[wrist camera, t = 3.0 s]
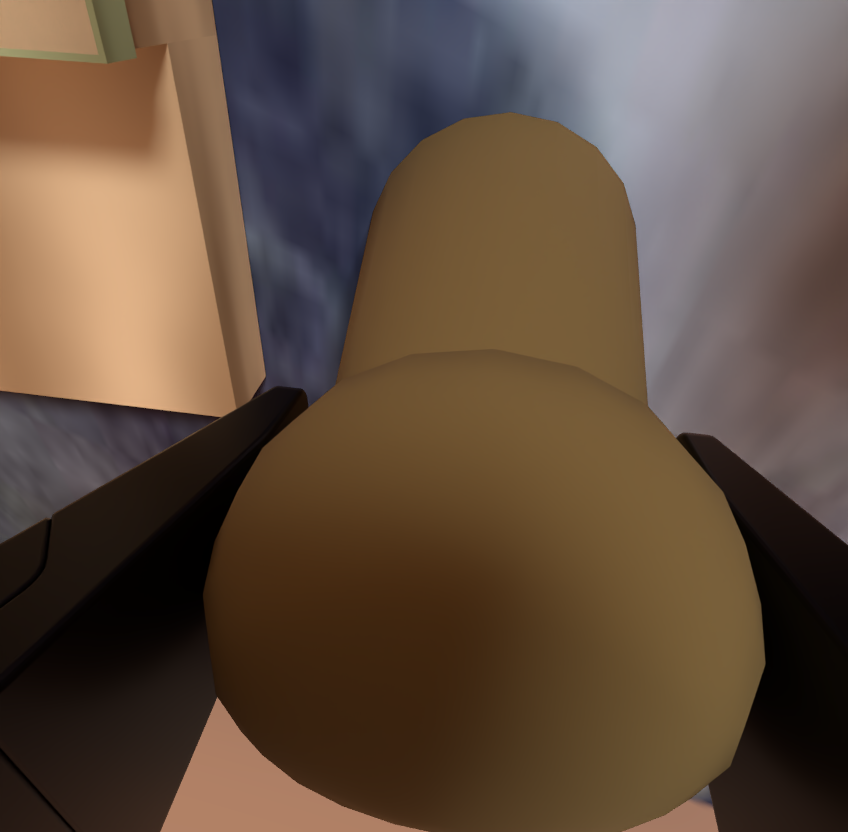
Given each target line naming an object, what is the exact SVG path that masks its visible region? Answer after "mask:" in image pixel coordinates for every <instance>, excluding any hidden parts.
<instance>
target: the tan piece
mask: <svg viewBox="0 0 848 832" xmlns="http://www.w3.org/2000/svg"><path fill="white" fill-rule="evenodd" d="M265 377H266V374H265V367H264V360H263V353H262V346H261V339H260V332H259V325H258V318H257V311H256V304H255V297H254V290H253V283H252V276H251V270H250V263H249V256H248V249H247V242H246V235H245V228H244V221H243V214H242V207H241V200H240V193H239V186H238V179H237V172H236V165H235V158H234V152H233V145H232V138H231V131H230V124H229V117H228V110H227V103H226V96H225V89H224V82H223V75H222V68H221V61H220V54H219V47H218V40H217V34H216V27H215V20H214V13H213V6H212V0H0V391H9V392H17V393H25V394H34V395H42V396H50V397H59V398H67V399H75V400H84V401H92V402H100V403H109V404H117V405H125V406H134V407H142V408H150V409H159V410H167V411H175V412H184V413H192V414H200V415H209V416H217V417H223V416H224V415H226V414H228V413H230V412H231V411H233V410H235V409H237V408H238V407H240V406H242V405H244V404H245V403H247V402H249V401H250V400H251V399H252V397H253V395H254V394H255V392H256V391H257V389H258V388H259V386H260V385H261V383H262V381H263V380H264V378H265Z"/></svg>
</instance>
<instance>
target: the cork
mask: <svg viewBox="0 0 848 832" xmlns="http://www.w3.org/2000/svg"><path fill="white" fill-rule="evenodd" d="M203 601H204V610H205V618H206V627H207V635H208V643H209V650H210V657H211V664H212V672H213V679H214V686H215V693H216V695H217V697H218V698H219V700H220V701H221V703H222V704H223V705H224V707H225V708H226V710H227V711H228V713H229V714H230V716H231V717H232V719H233V720H234V722H235V723H236V725H237V726H238V728H239V729H240V730H241V732H242V733H243V734H244V735H245V736H246V737H247V738H248V740H249V741H250V742H251V743H252V744H253V745H254V746H255V747H256V748H257V749H258V751H259V752H260V753H261V754H262V755H263V756H264V757H266V758H267V759H268V760H269V761H271V762H272V763H273V764H274V765H276V766H277V767H278V768H280V769H281V770H282V771H283V772H285V773H286V774H287V775H288V776H290V777H291V778H292V779H293V780H295V781H296V782H297V783H299V784H301V785H303V786H305V787H307V788H309V789H310V790H312V791H314V792H316V793H318V794H320V795H322V796H324V797H326V798H328V799H330V800H332V801H334V802H336V803H338V804H339V805H341V806H344V807H347V808H349V809H352V810H355V811H358V812H361V813H364V814H367V815H370V816H373V817H375V818H378V819H381V820H384V821H387V822H390V823H393V824H397V825H401V826H406V827H410V828H415V829H419V830H424V831H428V832H622V831H624V830H627V829H630V828H632V827H635V826H638V825H640V824H643V823H645V822H648V821H651V820H653V819H656V818H659V817H661V816H664V815H666V814H667V813H669V812H670V811H672V810H673V809H675V808H676V807H678V806H680V805H681V804H683V803H684V802H686V801H687V800H689V799H691V798H692V797H693V796H695V795H696V794H697V793H698V792H699V791H701V790H702V789H703V788H704V787H706V786H707V785H708V784H709V783H710V782H712V781H713V780H714V779H715V778H717V777H718V776H719V775H720V774H721V773H723V772H724V771H725V770H726V769H728V768H729V767H730V765H731V763H732V760H733V757H734V754H735V752H736V749H737V746H738V744H739V741H740V738H741V735H742V733H743V730H744V727H745V724H746V721H747V718H748V715H749V712H750V709H751V706H752V703H753V700H754V697H755V694H756V691H757V688H758V685H759V682H760V679H761V676H762V673H763V670H764V667H765V651H764V638H763V625H762V611H761V602H760V599H759V595H758V591H757V587H756V583H755V579H754V575H753V571H752V568H751V564H750V560H749V556H748V552H747V548H746V544H745V542H744V539H743V537H742V535H741V532H740V530H739V528H738V525H737V523H736V521H735V518H734V516H733V514H732V511H731V509H730V507H729V504H728V502H727V500H726V497H725V495H724V493H723V491H722V490H721V489H720V488H719V487H718V486H717V485H716V483H715V482H714V481H713V480H712V479H711V478H710V477H709V475H708V474H707V473H706V472H705V471H704V470H703V469H702V467H701V466H700V465H699V464H698V463H697V462H696V461H695V459H694V458H693V457H692V456H691V455H690V454H689V453H688V451H687V450H686V449H685V448H684V447H683V446H682V445H681V444H680V442H679V441H678V440H677V439H676V438H675V437H674V436H673V434H672V433H671V432H670V431H669V430H668V429H667V428H666V426H665V425H664V424H663V423H662V422H661V421H660V420H659V418H658V417H657V416H656V415H655V414H654V413H653V412H652V410H651V409H650V408H649V407H648V401H647V387H646V372H645V358H644V343H643V329H642V314H641V300H640V285H639V271H638V256H637V242H636V227H635V222H634V219H633V215H632V212H631V208H630V205H629V201H628V197H627V194H626V190H625V187H624V183H623V182H622V181H621V179H620V178H619V177H618V175H617V174H616V173H615V171H614V170H613V169H612V167H611V166H610V165H609V163H608V162H607V160H606V159H605V158H604V156H603V155H602V154H601V152H600V151H599V150H598V148H597V147H595V146H594V145H592V144H591V143H589V142H588V141H586V140H585V139H583V138H581V137H580V136H578V135H577V134H575V133H574V132H572V131H571V130H569V129H567V128H566V127H564V126H563V125H561V124H560V123H558V122H554V121H550V120H545V119H540V118H536V117H531V116H526V115H522V114H517V113H512V112H509V113H502V114H495V115H488V116H480V117H473V118H466V119H462V120H460V121H458V122H457V123H455V124H453V125H451V126H449V127H447V128H445V129H443V130H441V131H439V132H437V133H435V134H433V135H431V136H429V137H427V138H426V139H424V140H422V141H421V142H420V143H419V144H418V145H417V146H416V147H415V148H414V149H413V150H412V151H411V152H410V153H409V154H408V156H407V157H406V158H405V159H404V160H403V161H402V162H401V163H400V164H399V165H398V166H397V167H396V168H395V169H394V170H393V171H392V172H391V174H390V176H389V178H388V180H387V183H386V185H385V187H384V189H383V191H382V193H381V196H380V198H379V200H378V202H377V204H376V206H375V208H374V211H373V215H372V219H371V224H370V228H369V233H368V238H367V242H366V247H365V251H364V256H363V261H362V265H361V270H360V274H359V279H358V284H357V288H356V293H355V298H354V302H353V307H352V311H351V316H350V321H349V325H348V330H347V334H346V339H345V344H344V348H343V353H342V357H341V362H340V367H339V371H338V376H337V381H336V385H335V386H334V387H333V388H331V389H330V390H329V391H328V392H327V393H325V394H324V395H323V396H322V397H321V398H319V399H318V400H317V401H316V402H315V403H314V404H312V405H311V406H310V407H309V408H308V409H306V410H305V411H304V412H303V413H302V414H300V415H299V416H298V417H297V418H296V419H294V420H293V421H292V422H291V423H290V424H289V425H288V426H287V427H285V428H284V429H283V430H282V431H281V432H280V433H279V434H278V435H277V436H275V437H274V438H273V439H272V440H271V441H270V442H269V443H268V444H266V445H265V446H264V447H263V448H262V450H261V451H260V453H259V455H258V457H257V458H256V460H255V462H254V463H253V465H252V467H251V469H250V470H249V472H248V474H247V475H246V477H245V479H244V481H243V482H242V484H241V486H240V488H239V489H238V491H237V493H236V495H235V498H234V500H233V502H232V504H231V506H230V509H229V511H228V513H227V515H226V517H225V520H224V522H223V524H222V526H221V528H220V531H219V533H218V535H217V537H216V539H215V542H214V545H213V550H212V555H211V559H210V564H209V568H208V573H207V577H206V582H205V587H204V591H203Z"/></svg>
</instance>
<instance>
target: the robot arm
mask: <svg viewBox="0 0 848 832" xmlns="http://www.w3.org/2000/svg"><path fill="white" fill-rule="evenodd" d="M306 409H308V400H307V395H306V393H305V391H304V390H303V389H300V388H291V387H283V386H276V387H274V388H271V389H270V390H268V391H266V392H265V393H263V394H261V395H259V396H258V397H256V398H254V399H252V400H251V401H249V402H247V403H245V404H244V405H242V406H240V407H238V408H237V409H235V410H233V411H231V412H230V413H228V414H226V415H224V416H223V417H221V418H219V419H218V420H216V421H214V422H212V423H211V424H209V425H207V426H205V427H204V428H202V429H200V430H198V431H197V432H195V433H193V434H191V435H190V436H188V437H186V438H184V439H183V440H181V441H179V442H177V443H176V444H174V445H172V446H171V447H169V448H167V449H165V450H164V451H162V452H160V453H158V454H157V455H155V456H153V457H151V458H150V459H148V460H146V461H144V462H143V463H141V464H139V465H137V466H136V467H134V468H132V469H130V470H129V471H127V472H125V473H124V474H122V475H120V476H118V477H117V478H115V479H113V480H111V481H110V482H108V483H106V484H104V485H103V486H101V487H99V488H97V489H96V490H94V491H92V492H90V493H89V494H87V495H85V496H83V497H82V498H80V499H78V500H76V501H75V502H73V503H71V504H69V505H68V506H66V507H64V508H63V509H61V510H59V511H57V512H56V513H54V514H53V515H52V519H50V518H45V519H43V520H41V521H40V522H38V523H36V524H34V525H33V526H31V527H29V528H27V529H26V530H24V531H22V532H20V533H19V534H17V535H15V536H13V537H12V538H10V539H8V540H6V541H4V542H3V543H1V544H0V832H160V831H161V829H162V826H163V824H164V822H165V819H166V817H167V815H168V812H169V809H170V807H171V805H172V803H173V800H174V798H175V795H176V793H177V791H178V789H179V786H180V784H181V781H182V779H183V777H184V774H185V772H186V770H187V767H188V765H189V763H190V760H191V758H192V755H193V753H194V751H195V748H196V746H197V744H198V741H199V739H200V737H201V734H202V732H203V729H204V727H205V725H206V723H207V720H208V718H209V715H210V713H211V711H212V708H213V706H214V704H215V701H216V699H217V695H216V693H215V686H214V679H213V672H212V664H211V657H210V650H209V643H208V635H207V627H206V618H205V610H204V601H203V591H204V587H205V582H206V577H207V573H208V568H209V564H210V559H211V555H212V550H213V545H214V542H215V539H216V537H217V535H218V533H219V531H220V528H221V526H222V524H223V522H224V520H225V517H226V515H227V513H228V511H229V509H230V506H231V504H232V502H233V500H234V498H235V495H236V493H237V491H238V489H239V488H240V486H241V484H242V482H243V481H244V479H245V477H246V475H247V474H248V472H249V470H250V469H251V467H252V465H253V463H254V462H255V460H256V458H257V457H258V455H259V453H260V451H261V450H262V448H263V447H264V446H265V445H266V444H268V443H269V442H270V441H271V440H272V439H273V438H274V437H275V436H277V435H278V434H279V433H280V432H281V431H282V430H283V429H284V428H285V427H287V426H288V425H289V424H290V423H291V422H292V421H293V420H294V419H296V418H297V417H298V416H299V415H300V414H302V413H303V412H304V411H305V410H306ZM676 439H677V440H678V441H679V442H680V444H681V445H682V446H683V447H684V448H685V449H686V450H687V451H688V453H689V454H690V455H691V456H692V457H693V458H694V459H695V461H696V462H697V463H698V464H699V465H700V466H701V467H702V469H703V470H704V471H705V472H706V473H707V474H708V475H709V477H710V478H711V479H712V480H713V481H714V482H715V483H716V485H717V486H718V487H719V488H720V489H721V490H722V491H723V493H724V495H725V497H726V500H727V502H728V504H729V507H730V509H731V511H732V514H733V516H734V518H735V521H736V523H737V525H738V528H739V530H740V532H741V535H742V537H743V539H744V542H745V544H746V548H747V552H748V556H749V560H750V564H751V568H752V571H753V575H754V579H755V583H756V587H757V591H758V595H759V599H760V602H761V611H762V625H763V638H764V651H765V667H764V670H763V673H762V676H761V679H760V682H759V685H758V688H757V691H756V694H755V697H754V700H753V703H752V706H751V709H750V712H749V715H748V718H747V721H746V724H745V727H744V730H743V733H742V735H741V738H740V741H739V744H738V746H737V749H736V752H735V754H734V757H733V760H732V763H731V765H730V767H729V768H728V769H726V770H725V771H724V772H723V773H721V774H720V775H719V776H718V777H717V778H715V779H714V780H713V781H712V782H710V783H709V784H708V785H709V790H710V794H711V799H712V803H713V808H714V813H715V817H716V822H717V826H718V831H719V832H848V545H847V544H846V543H845V542H843V541H842V540H841V539H840V538H838V537H837V536H836V535H835V534H833V533H832V532H831V531H830V530H829V529H827V528H826V527H825V526H824V525H822V524H821V523H820V522H819V521H817V520H816V519H815V518H814V517H812V516H811V515H810V514H809V513H807V512H806V511H805V510H804V509H803V508H801V507H800V506H799V505H798V504H796V503H795V502H794V501H793V500H791V499H790V498H789V497H788V496H786V495H785V494H784V493H783V492H782V491H780V490H779V489H778V488H777V487H775V486H774V485H773V484H772V483H770V482H769V481H768V480H767V479H765V478H764V477H763V476H762V475H761V474H759V473H758V472H757V471H756V470H754V469H753V468H752V467H751V466H749V465H748V464H747V463H746V462H744V461H743V460H742V459H741V458H740V457H738V456H737V455H736V454H735V453H733V452H732V451H731V450H730V449H728V448H727V447H726V446H725V445H723V444H722V443H721V442H720V441H718V440H717V439H716V438H714V437H713V436H710V435H703V434H694V433H682V434H680V435H678V436H677V438H676Z"/></svg>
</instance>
